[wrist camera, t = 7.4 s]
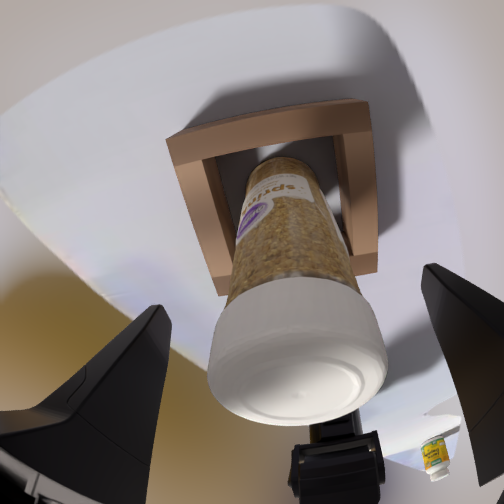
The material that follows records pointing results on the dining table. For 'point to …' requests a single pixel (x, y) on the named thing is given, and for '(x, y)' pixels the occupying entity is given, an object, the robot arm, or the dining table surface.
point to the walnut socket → (268, 133)
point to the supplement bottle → (435, 458)
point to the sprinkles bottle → (293, 310)
